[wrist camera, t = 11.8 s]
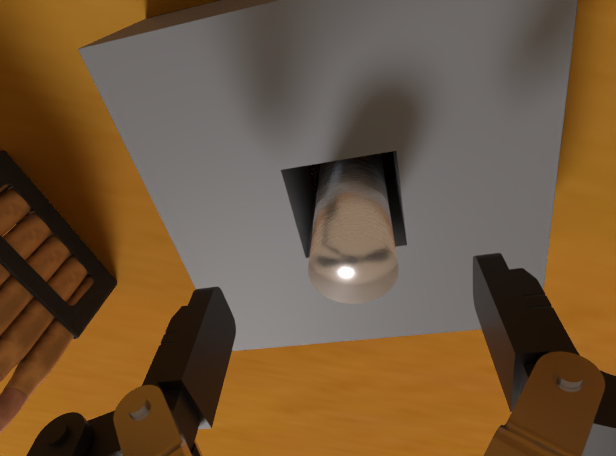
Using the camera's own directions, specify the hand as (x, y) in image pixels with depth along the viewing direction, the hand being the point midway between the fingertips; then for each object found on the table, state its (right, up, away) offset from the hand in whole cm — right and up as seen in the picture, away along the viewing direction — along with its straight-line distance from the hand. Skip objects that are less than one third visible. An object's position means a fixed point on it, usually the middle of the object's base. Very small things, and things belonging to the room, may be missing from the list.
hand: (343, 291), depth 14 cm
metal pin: (+1, +6, +9) cm, 11 cm away
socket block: (+1, +6, +9) cm, 11 cm away
